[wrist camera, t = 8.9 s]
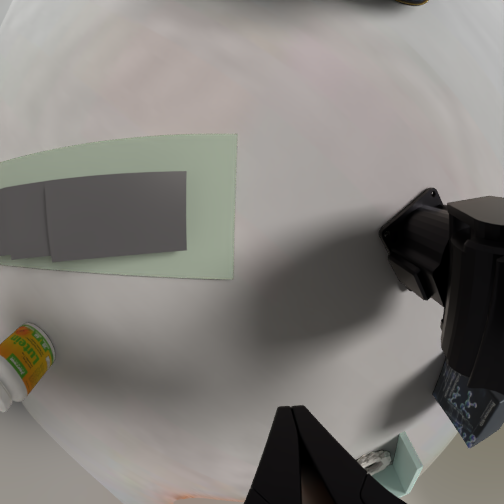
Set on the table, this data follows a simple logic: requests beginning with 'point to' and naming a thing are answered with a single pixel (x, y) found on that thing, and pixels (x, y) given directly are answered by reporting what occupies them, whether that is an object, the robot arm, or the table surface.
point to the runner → (150, 160)
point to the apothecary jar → (413, 2)
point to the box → (469, 406)
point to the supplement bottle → (23, 363)
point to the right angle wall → (395, 467)
